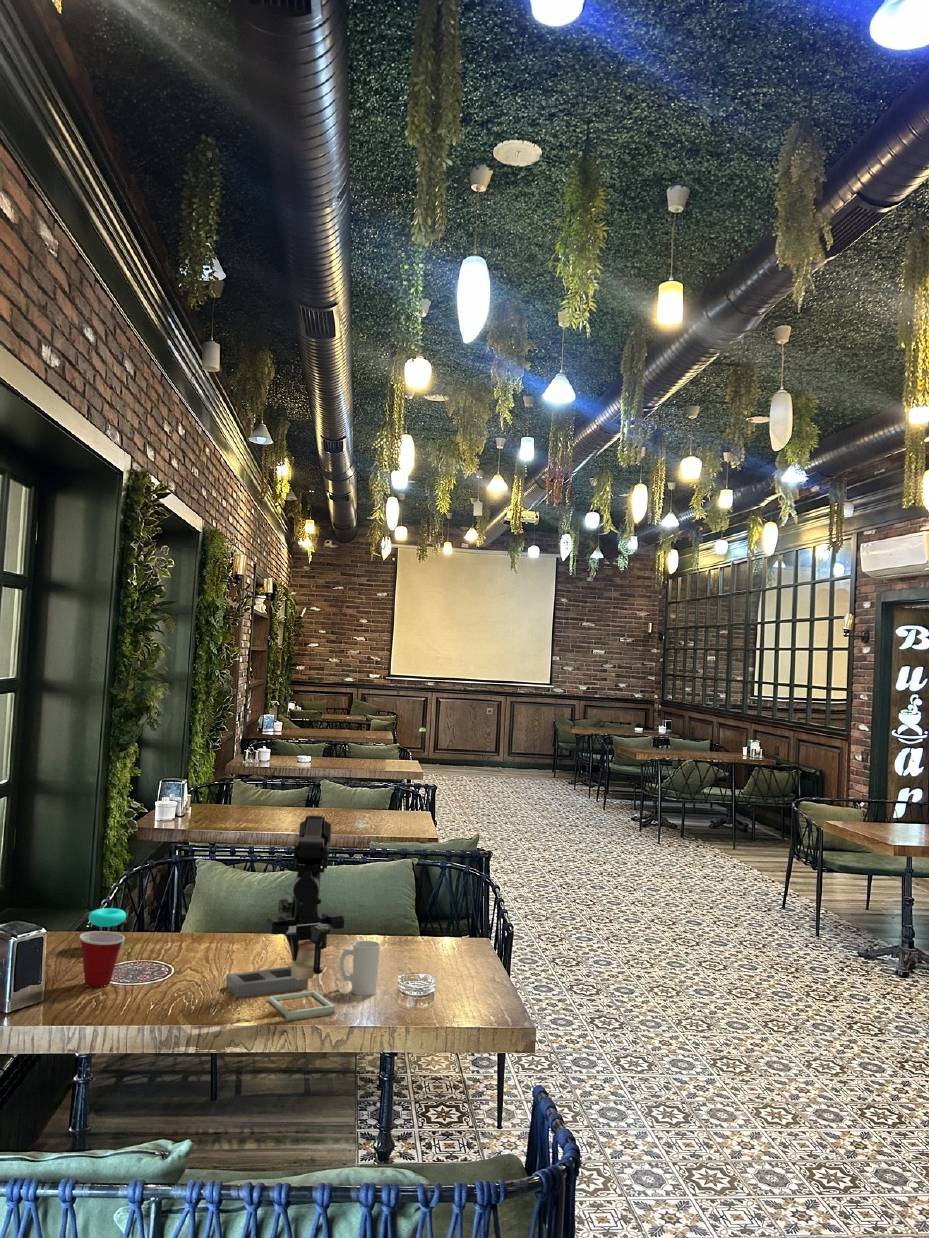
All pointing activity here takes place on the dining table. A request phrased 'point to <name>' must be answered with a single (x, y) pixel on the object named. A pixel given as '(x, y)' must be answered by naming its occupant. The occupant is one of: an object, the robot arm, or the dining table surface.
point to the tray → (304, 1012)
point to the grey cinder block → (263, 982)
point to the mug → (362, 967)
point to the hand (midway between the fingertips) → (302, 959)
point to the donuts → (107, 917)
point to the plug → (303, 961)
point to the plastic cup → (100, 956)
